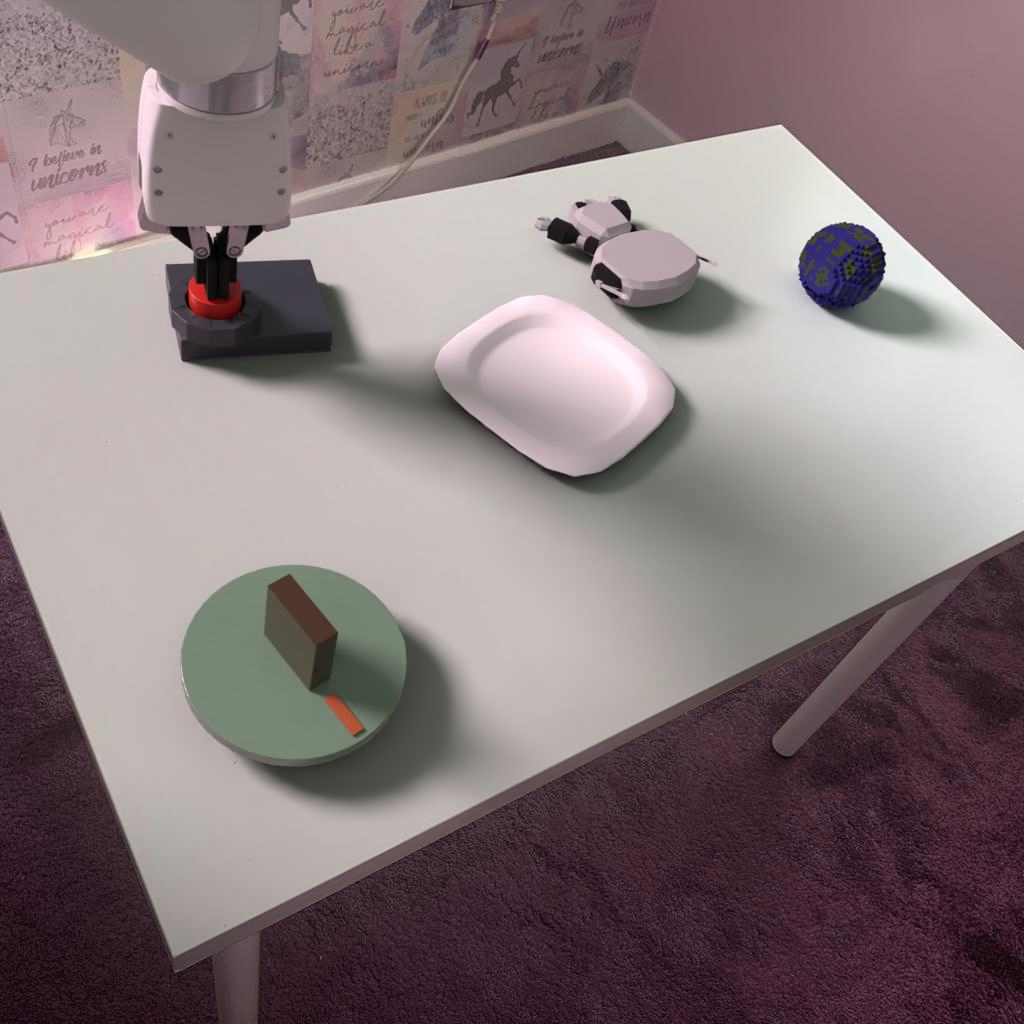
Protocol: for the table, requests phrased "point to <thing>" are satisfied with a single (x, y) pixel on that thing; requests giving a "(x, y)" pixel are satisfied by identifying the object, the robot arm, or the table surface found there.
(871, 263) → the ball
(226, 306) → the button
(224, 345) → the button block
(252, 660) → the turntable plate
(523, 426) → the plate
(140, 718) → the table surface
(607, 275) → the robot toy
